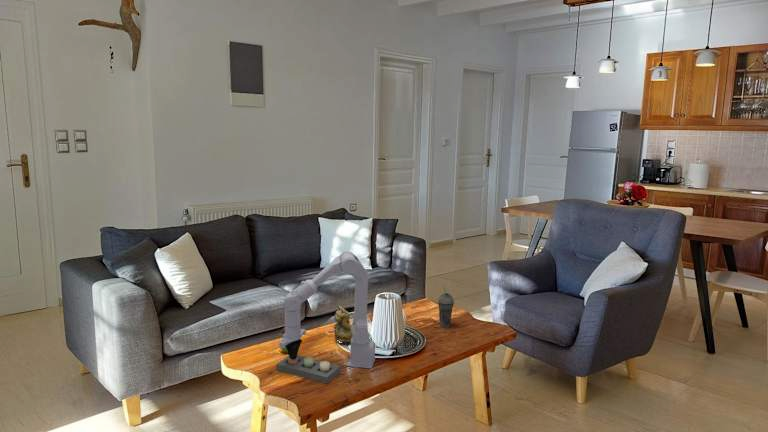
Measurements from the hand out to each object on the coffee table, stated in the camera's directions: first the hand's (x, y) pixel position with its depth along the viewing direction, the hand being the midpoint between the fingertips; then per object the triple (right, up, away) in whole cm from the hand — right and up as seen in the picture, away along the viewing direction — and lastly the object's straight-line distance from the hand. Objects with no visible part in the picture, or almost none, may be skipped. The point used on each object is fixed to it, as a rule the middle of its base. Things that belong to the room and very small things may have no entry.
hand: (293, 358), depth 203 cm
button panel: (+6, -4, -2) cm, 8 cm away
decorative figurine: (+18, +1, +26) cm, 31 cm away
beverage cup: (+63, +3, +44) cm, 76 cm away
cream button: (+13, -3, -6) cm, 14 cm away
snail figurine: (-4, -1, +14) cm, 14 cm away
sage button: (+6, -2, -3) cm, 7 cm away
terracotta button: (0, -3, +1) cm, 3 cm away
